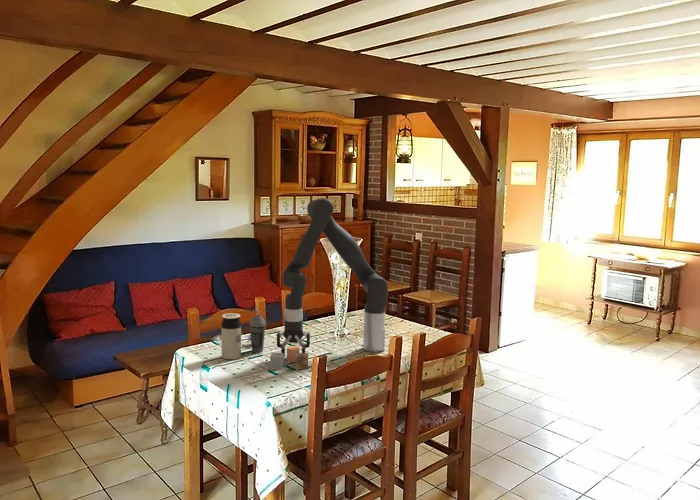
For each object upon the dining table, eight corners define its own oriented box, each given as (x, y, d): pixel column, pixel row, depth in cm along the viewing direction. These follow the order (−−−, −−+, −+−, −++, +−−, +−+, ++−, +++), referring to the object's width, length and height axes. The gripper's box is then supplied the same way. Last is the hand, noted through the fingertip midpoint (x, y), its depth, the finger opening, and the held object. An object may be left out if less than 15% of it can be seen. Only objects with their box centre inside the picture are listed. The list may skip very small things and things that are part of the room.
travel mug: (217, 357, 240) (217, 315, 238) (231, 352, 247) (231, 311, 244) (231, 361, 236) (231, 318, 233) (244, 356, 242) (244, 315, 240)
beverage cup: (252, 354, 245) (252, 309, 242) (246, 349, 251) (246, 305, 248) (268, 352, 248) (268, 307, 245) (262, 347, 255) (262, 303, 252)
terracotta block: (299, 357, 243) (299, 346, 243) (298, 361, 238) (298, 349, 238) (287, 357, 243) (287, 346, 242) (286, 361, 238) (286, 349, 237)
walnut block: (308, 364, 235) (308, 353, 234) (307, 369, 230) (308, 357, 229) (295, 364, 234) (296, 353, 234) (295, 369, 229) (295, 357, 229)
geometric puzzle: (260, 343, 253) (262, 326, 257) (245, 343, 253) (247, 326, 257) (263, 349, 259) (265, 332, 263) (248, 348, 260) (250, 332, 263)
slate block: (283, 364, 234) (283, 352, 233) (282, 369, 229) (282, 356, 228) (271, 364, 234) (271, 352, 233) (270, 368, 229) (270, 356, 228)
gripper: (311, 316, 242) (310, 354, 245) (277, 315, 241) (276, 353, 244) (310, 321, 235) (310, 359, 237) (275, 320, 234) (275, 359, 236)
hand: (293, 356), depth 240 cm, fingers open, 7 cm apart
